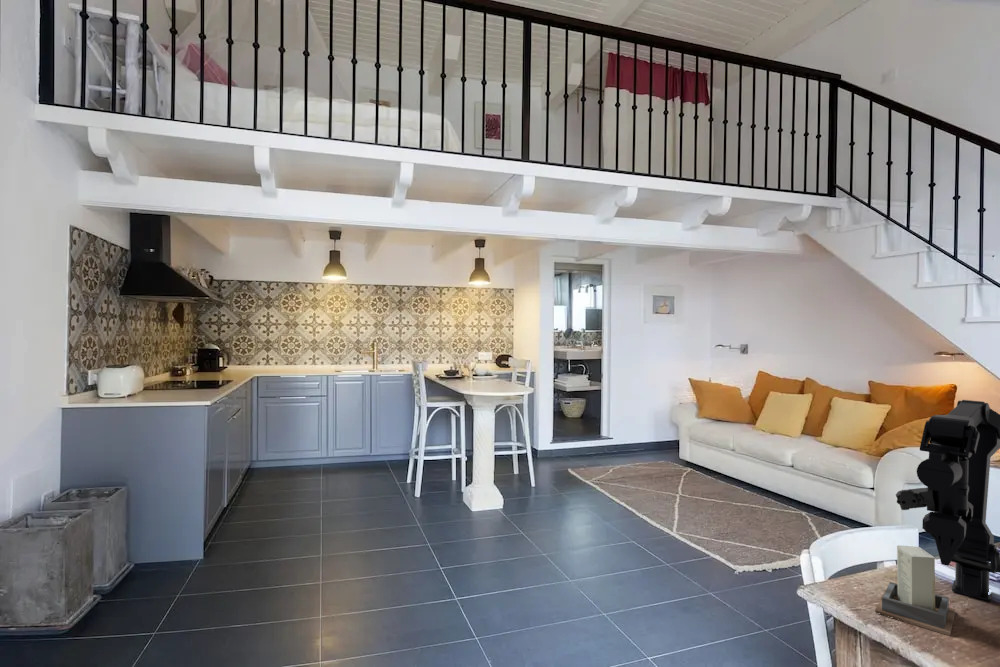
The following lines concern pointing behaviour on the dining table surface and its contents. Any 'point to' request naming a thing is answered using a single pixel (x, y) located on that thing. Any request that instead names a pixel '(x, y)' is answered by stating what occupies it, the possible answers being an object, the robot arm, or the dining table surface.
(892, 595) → the box stand
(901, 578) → the skincare box
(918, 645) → the dining table surface
